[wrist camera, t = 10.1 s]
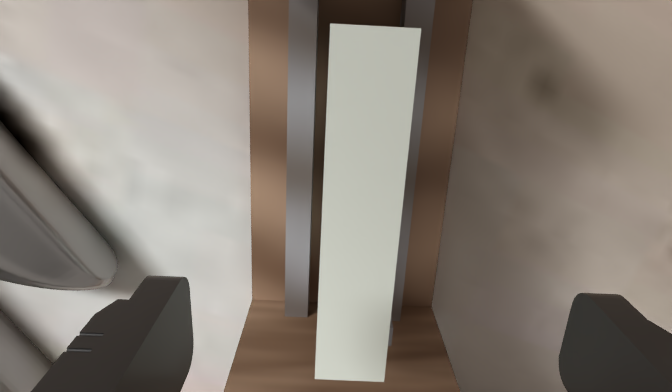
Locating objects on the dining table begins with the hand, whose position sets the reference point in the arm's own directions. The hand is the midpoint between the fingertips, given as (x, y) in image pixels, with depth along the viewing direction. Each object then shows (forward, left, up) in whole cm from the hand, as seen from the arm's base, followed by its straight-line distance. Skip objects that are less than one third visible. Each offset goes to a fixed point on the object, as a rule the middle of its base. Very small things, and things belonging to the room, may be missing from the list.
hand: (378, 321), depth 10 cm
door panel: (0, 0, -14) cm, 14 cm away
